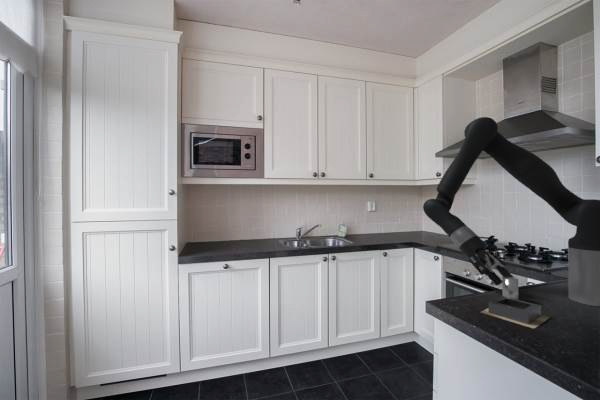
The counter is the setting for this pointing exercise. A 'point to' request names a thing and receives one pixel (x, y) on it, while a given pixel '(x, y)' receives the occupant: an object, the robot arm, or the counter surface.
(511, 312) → the sleeve
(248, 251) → the counter surface
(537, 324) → the board
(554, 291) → the counter surface
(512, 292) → the cylinder
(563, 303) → the counter surface
